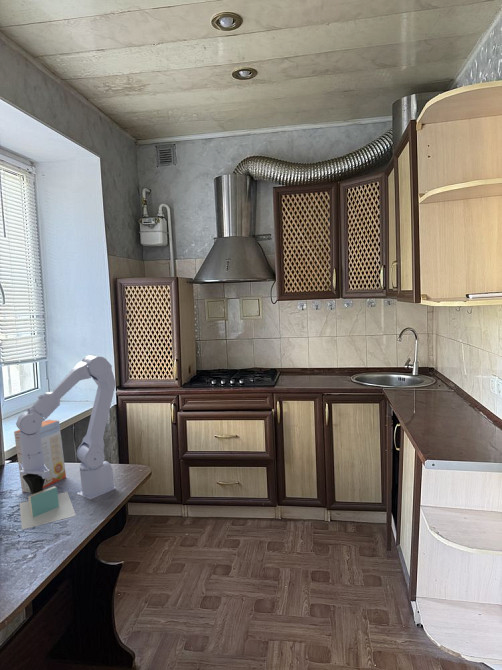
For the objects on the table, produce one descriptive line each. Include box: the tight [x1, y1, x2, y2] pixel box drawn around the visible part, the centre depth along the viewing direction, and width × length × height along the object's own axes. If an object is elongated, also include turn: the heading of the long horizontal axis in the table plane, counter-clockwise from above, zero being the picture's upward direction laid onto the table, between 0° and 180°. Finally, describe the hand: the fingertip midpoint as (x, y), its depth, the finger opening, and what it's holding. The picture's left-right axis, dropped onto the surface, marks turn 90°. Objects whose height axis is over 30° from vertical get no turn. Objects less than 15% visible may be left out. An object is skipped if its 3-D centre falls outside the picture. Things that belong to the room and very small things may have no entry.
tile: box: [27, 485, 59, 517], centre depth 141 cm, size 8×2×6 cm, turn 141°
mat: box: [19, 491, 77, 530], centre depth 143 cm, size 20×14×1 cm
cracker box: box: [13, 419, 67, 494], centre depth 162 cm, size 14×6×21 cm, turn 154°
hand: (37, 496), depth 143 cm, fingers closed
